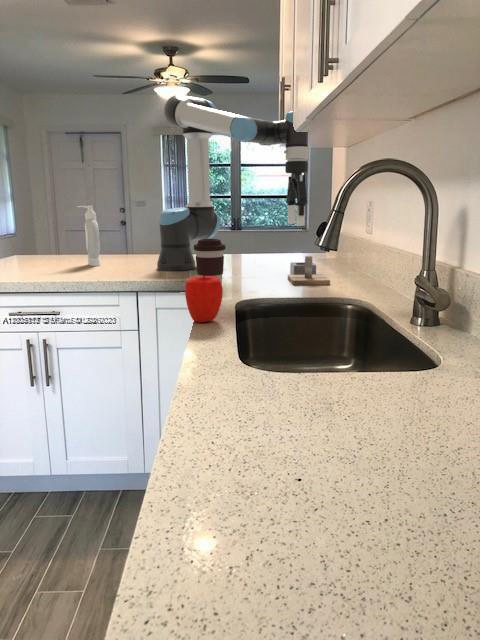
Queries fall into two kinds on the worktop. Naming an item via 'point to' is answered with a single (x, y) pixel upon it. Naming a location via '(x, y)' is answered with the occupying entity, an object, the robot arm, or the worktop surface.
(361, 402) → the worktop surface
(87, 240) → the soap bottle
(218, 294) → the apple
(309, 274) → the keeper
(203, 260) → the coffee cup
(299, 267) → the gray square block
